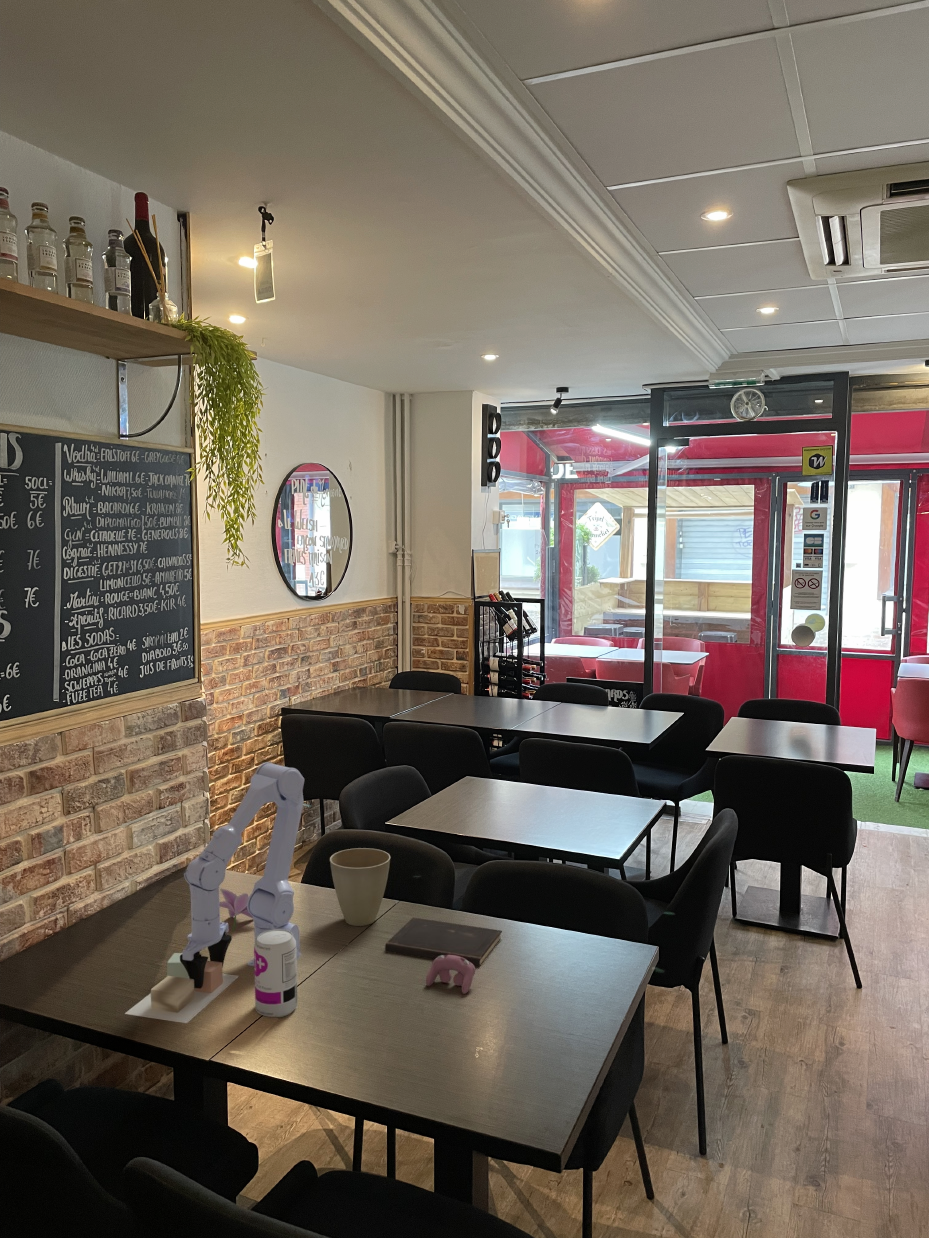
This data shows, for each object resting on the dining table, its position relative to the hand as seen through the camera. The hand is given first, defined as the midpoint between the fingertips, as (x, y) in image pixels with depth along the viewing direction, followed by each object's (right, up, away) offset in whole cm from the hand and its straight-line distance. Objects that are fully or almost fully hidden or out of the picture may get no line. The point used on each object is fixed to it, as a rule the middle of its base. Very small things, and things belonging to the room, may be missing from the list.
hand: (207, 978), depth 188 cm
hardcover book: (+49, -1, +21) cm, 54 cm away
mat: (-4, -2, -3) cm, 5 cm away
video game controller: (+51, -2, +1) cm, 51 cm away
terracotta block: (0, -2, 0) cm, 2 cm away
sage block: (-7, -2, +4) cm, 8 cm away
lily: (-2, 0, +33) cm, 33 cm away
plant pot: (+28, 0, +35) cm, 45 cm away
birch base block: (-5, -2, -7) cm, 9 cm away
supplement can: (+16, -3, -8) cm, 19 cm away
